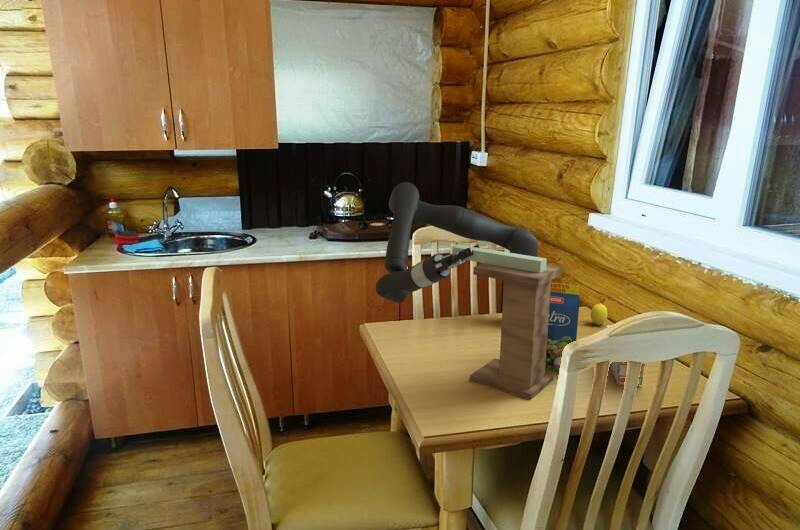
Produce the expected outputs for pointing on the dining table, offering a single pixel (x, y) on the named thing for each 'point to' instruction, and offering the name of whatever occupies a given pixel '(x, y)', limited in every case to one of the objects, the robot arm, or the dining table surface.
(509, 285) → the walnut stand
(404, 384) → the dining table surface
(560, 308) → the blue food package
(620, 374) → the stack of blocks
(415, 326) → the dining table surface
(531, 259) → the sage bar
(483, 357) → the dining table surface
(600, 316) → the lemon
